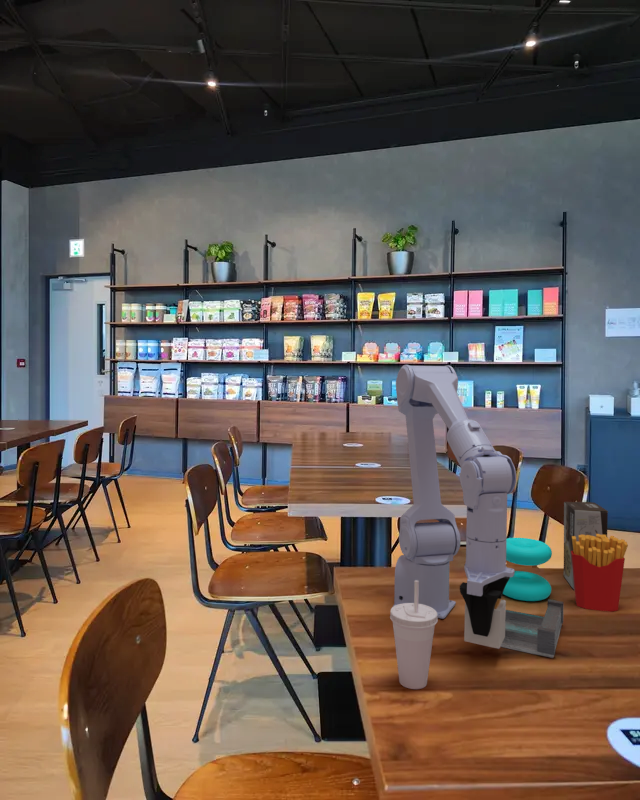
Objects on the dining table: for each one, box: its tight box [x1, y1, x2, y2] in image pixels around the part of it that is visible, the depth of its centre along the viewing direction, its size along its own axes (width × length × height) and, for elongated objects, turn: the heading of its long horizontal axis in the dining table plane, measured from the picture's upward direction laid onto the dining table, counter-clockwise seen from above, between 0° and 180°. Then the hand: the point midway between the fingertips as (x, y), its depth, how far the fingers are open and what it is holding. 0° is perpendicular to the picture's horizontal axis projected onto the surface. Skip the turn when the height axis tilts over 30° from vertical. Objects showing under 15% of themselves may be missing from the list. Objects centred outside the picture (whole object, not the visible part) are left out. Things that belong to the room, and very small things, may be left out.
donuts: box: [502, 537, 553, 602], centre depth 110 cm, size 10×10×10 cm
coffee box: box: [563, 501, 609, 590], centre depth 115 cm, size 9×6×16 cm
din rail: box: [500, 598, 565, 659], centre depth 92 cm, size 12×14×4 cm
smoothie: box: [389, 580, 439, 690], centre depth 77 cm, size 6×6×14 cm
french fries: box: [571, 534, 629, 613], centre depth 104 cm, size 9×4×13 cm, turn 73°
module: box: [463, 598, 507, 650], centre depth 84 cm, size 5×4×6 cm
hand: (484, 627), depth 84 cm, fingers closed on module, 4 cm apart
